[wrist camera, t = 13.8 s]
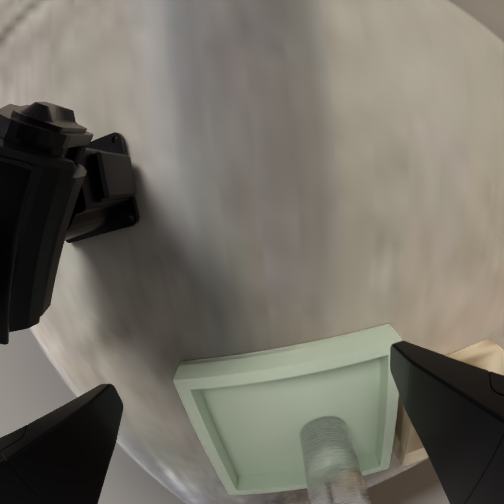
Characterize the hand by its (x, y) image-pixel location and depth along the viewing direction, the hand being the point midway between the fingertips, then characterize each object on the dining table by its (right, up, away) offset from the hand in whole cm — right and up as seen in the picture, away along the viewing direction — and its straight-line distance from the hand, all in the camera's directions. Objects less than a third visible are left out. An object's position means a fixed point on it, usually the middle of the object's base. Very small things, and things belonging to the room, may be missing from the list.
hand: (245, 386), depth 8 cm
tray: (+4, -11, +15) cm, 18 cm away
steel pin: (+6, -12, +14) cm, 19 cm away
